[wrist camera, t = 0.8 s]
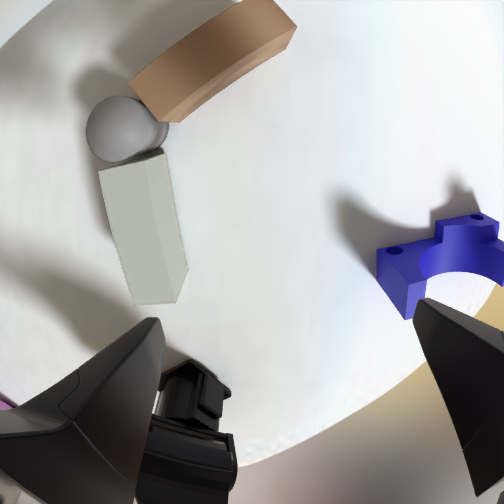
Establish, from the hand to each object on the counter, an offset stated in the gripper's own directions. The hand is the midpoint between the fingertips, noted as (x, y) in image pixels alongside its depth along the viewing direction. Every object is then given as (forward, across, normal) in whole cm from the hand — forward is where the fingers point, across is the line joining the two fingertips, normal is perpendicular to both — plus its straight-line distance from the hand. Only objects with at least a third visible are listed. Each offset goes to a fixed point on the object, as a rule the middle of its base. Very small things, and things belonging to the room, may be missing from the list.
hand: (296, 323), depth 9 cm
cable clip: (+13, -15, +3) cm, 20 cm away
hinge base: (+13, +5, -10) cm, 17 cm away
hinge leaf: (+13, +8, -2) cm, 15 cm away
